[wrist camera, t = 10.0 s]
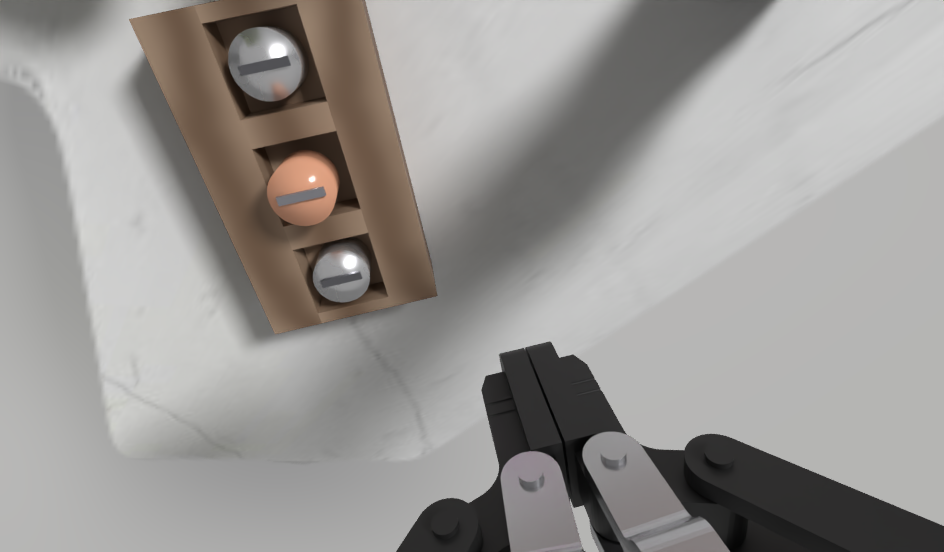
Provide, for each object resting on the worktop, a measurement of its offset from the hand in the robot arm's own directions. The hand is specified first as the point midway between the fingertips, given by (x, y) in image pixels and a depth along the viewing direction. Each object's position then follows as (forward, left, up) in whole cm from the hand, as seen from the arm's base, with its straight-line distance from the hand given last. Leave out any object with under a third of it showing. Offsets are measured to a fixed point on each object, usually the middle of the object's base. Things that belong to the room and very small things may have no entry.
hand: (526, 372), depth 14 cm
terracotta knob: (+10, 0, -26) cm, 28 cm away
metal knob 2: (+10, +8, -29) cm, 32 cm away
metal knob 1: (+10, -8, -29) cm, 32 cm away
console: (+10, 0, -32) cm, 34 cm away
